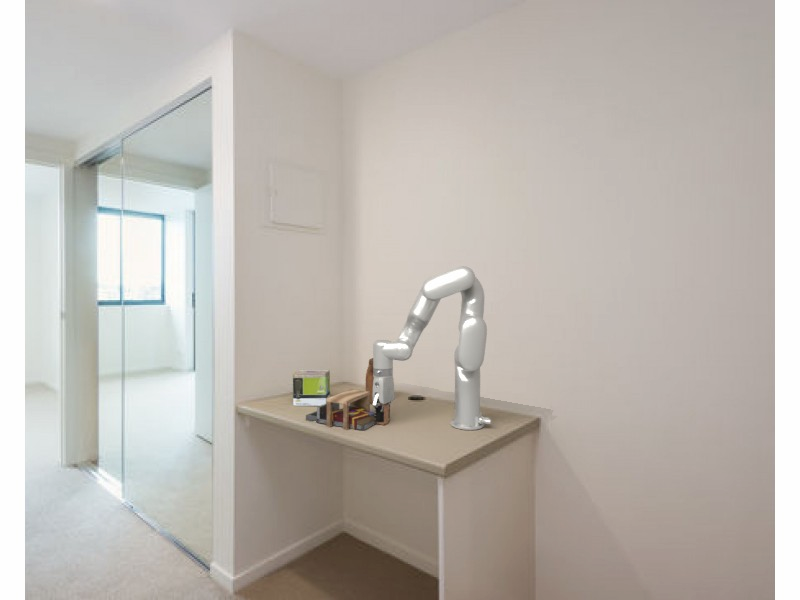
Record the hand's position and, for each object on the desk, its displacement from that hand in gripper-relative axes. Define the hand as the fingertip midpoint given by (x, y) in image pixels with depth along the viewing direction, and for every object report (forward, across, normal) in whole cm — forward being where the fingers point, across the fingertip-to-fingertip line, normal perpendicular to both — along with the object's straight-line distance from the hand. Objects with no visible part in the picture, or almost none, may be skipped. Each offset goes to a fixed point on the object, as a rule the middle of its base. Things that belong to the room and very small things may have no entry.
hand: (382, 419), depth 162 cm
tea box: (+2, +12, +43) cm, 45 cm away
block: (+2, +28, +18) cm, 34 cm away
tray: (+1, -4, +11) cm, 12 cm away
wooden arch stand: (+2, -4, +13) cm, 14 cm away
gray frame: (+2, -4, +26) cm, 27 cm away
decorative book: (+2, -4, +12) cm, 12 cm away
